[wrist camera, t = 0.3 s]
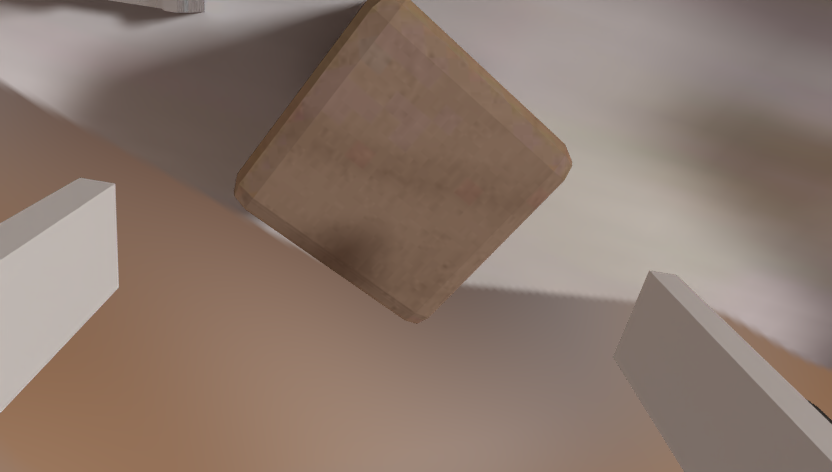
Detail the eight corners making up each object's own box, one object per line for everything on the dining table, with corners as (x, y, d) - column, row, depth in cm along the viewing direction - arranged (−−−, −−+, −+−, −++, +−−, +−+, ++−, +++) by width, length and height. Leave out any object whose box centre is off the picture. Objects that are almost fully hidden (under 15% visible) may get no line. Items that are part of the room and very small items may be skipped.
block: (405, 189, 41) (418, 340, 23) (299, 105, 38) (215, 201, 20) (494, 88, 38) (591, 167, 20) (387, -11, 35) (384, -26, 17)
